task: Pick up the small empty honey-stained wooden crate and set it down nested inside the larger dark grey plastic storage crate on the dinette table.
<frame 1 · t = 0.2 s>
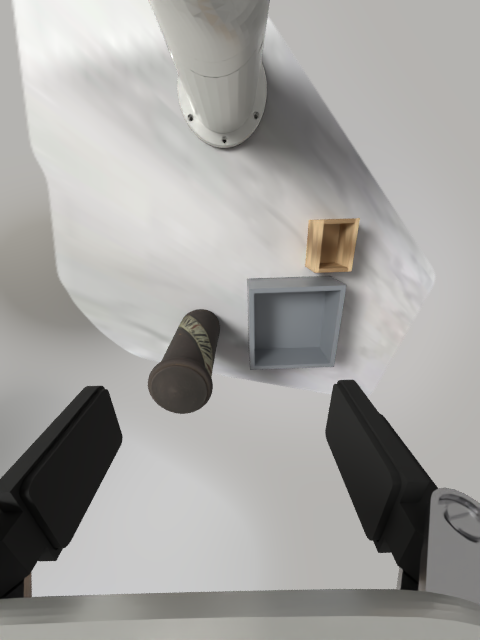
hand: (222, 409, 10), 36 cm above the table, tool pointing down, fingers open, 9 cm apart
container: (200, 327, 48), on the table
grey crate: (286, 315, 47), on the table
wooden crate: (323, 243, 42), on the table
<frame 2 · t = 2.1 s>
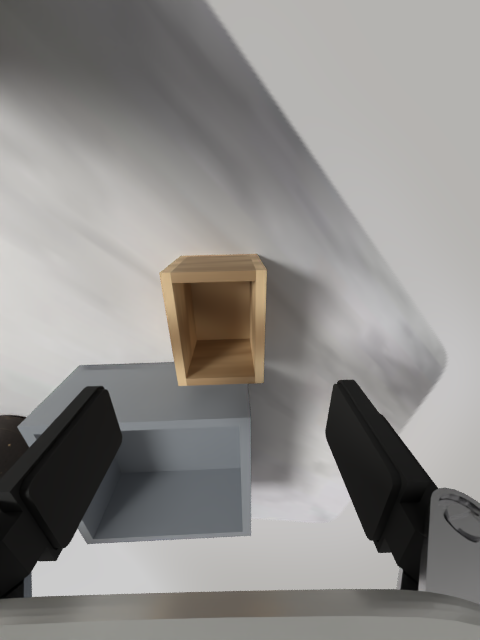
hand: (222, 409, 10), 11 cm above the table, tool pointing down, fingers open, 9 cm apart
container: (19, 439, 26), on the table
grey crate: (174, 422, 25), on the table
wooden crate: (221, 301, 20), on the table
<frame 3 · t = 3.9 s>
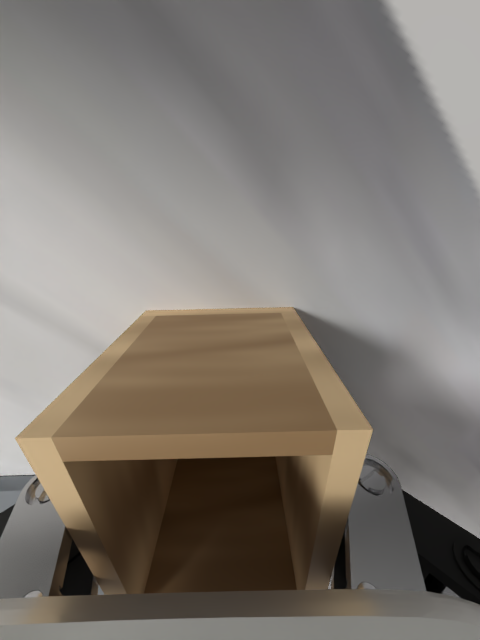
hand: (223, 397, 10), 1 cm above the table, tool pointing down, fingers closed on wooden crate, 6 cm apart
grey crate: (149, 546, 16), on the table
wooden crate: (224, 387, 11), on the table, touching gripper
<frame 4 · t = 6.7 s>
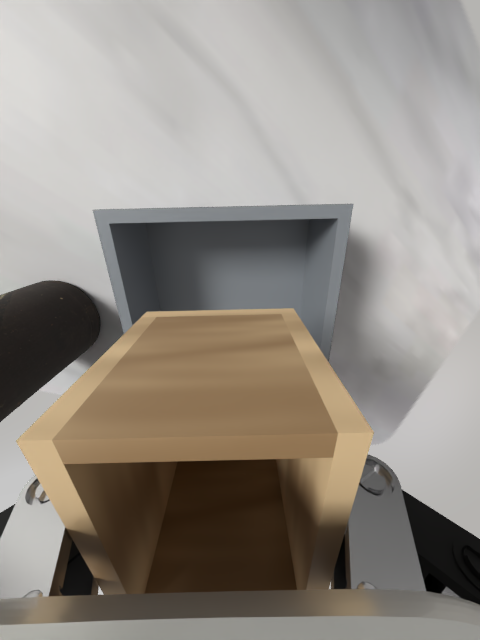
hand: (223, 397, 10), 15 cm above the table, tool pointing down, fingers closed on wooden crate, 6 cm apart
container: (64, 317, 25), on the table
grey crate: (230, 296, 24), on the table
wooden crate: (224, 388, 11), point 14 cm above the table, touching gripper
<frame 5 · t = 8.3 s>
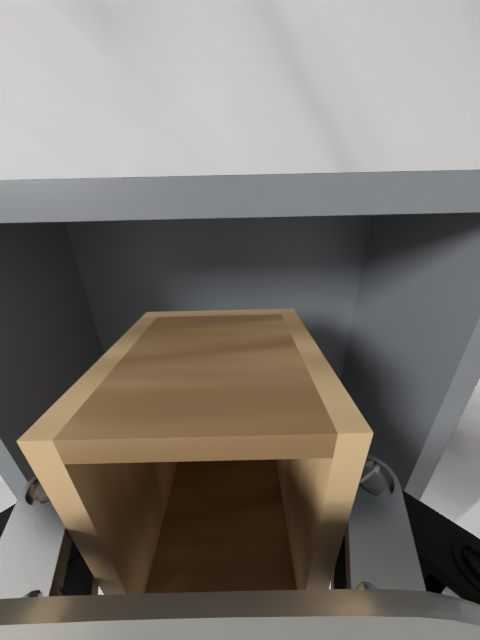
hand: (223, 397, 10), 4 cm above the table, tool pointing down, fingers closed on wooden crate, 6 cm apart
grey crate: (226, 345, 14), on the table
wooden crate: (224, 388, 11), point 4 cm above the table, touching gripper
when the fingers open (3 cm above the table, at t = 9.5 s): wooden crate drops 2 cm, resting on grey crate.
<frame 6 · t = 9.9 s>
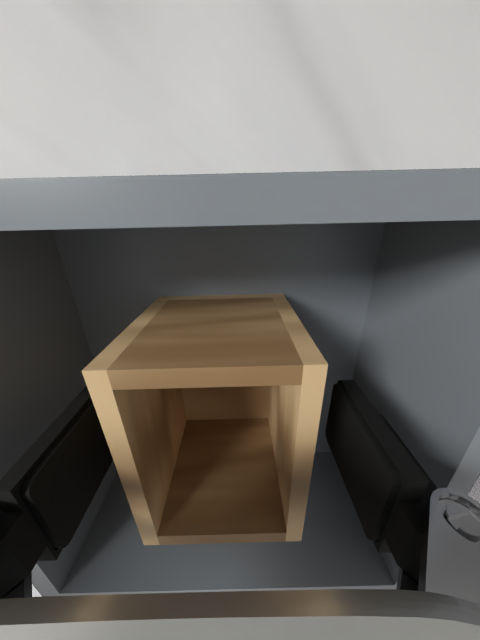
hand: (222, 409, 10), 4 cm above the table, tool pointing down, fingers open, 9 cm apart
grey crate: (226, 357, 13), on the table
wooden crate: (225, 364, 13), point 1 cm above the table, touching grey crate
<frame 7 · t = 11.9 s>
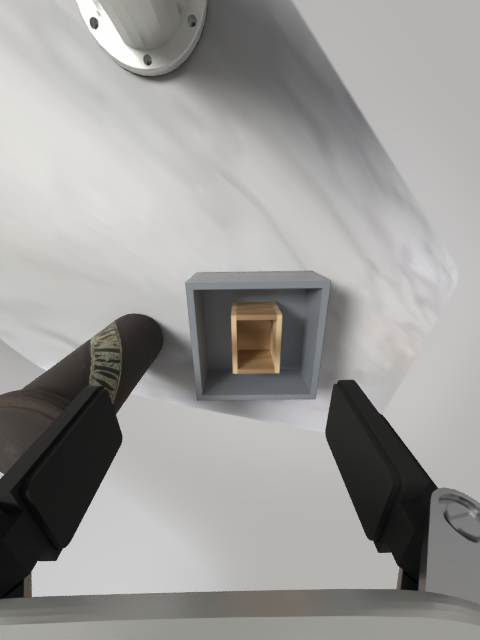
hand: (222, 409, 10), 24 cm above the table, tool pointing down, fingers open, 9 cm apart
container: (137, 338, 36), on the table
grey crate: (253, 325, 35), on the table
wooden crate: (253, 327, 34), point 1 cm above the table, touching grey crate
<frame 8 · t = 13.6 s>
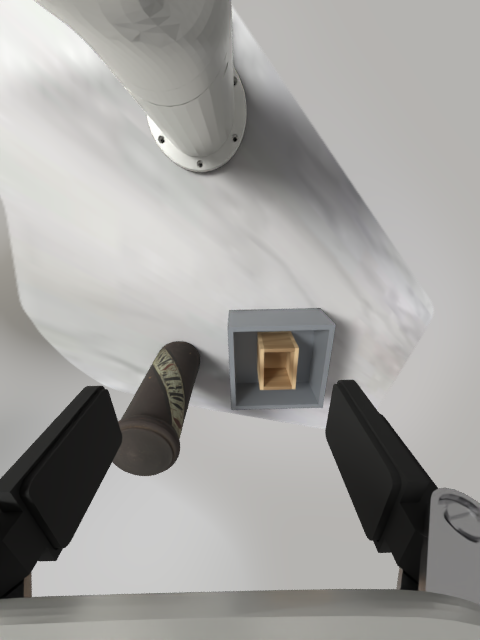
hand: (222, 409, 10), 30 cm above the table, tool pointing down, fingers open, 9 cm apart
container: (179, 359, 44), on the table
grey crate: (272, 348, 43), on the table
wooden crate: (273, 350, 43), point 1 cm above the table, touching grey crate
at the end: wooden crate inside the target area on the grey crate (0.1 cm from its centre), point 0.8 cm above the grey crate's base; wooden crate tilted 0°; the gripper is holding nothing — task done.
